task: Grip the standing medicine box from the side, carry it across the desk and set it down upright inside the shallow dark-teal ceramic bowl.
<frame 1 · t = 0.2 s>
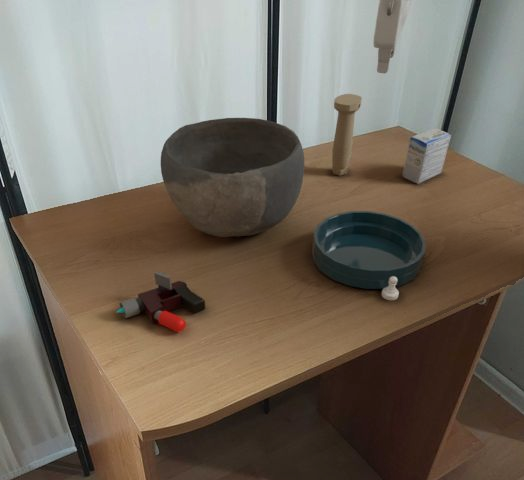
hand: (385, 64, 95), 23 cm above the table, tool pointing down, fingers open, 8 cm apart
teal bowl: (365, 258, 91), on the table
bowl: (234, 222, 99), on the table
chess pawn: (389, 296, 84), on the table
toy gun: (163, 318, 79), on the table
medicine box: (421, 176, 114), on the table
handle: (339, 173, 114), on the table
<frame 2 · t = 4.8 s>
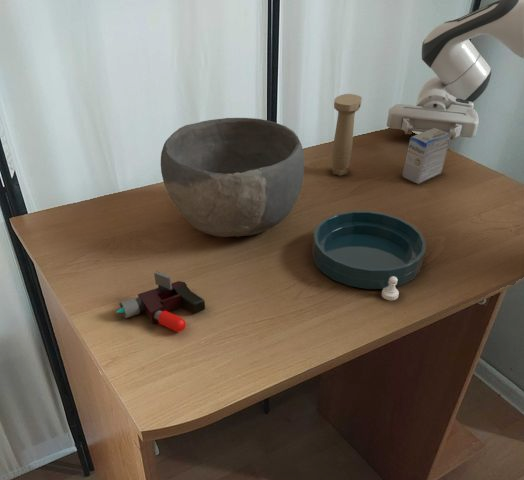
hand: (430, 133, 119), 5 cm above the table, tool horizontal, fingers open, 8 cm apart
nothing on the table moved.
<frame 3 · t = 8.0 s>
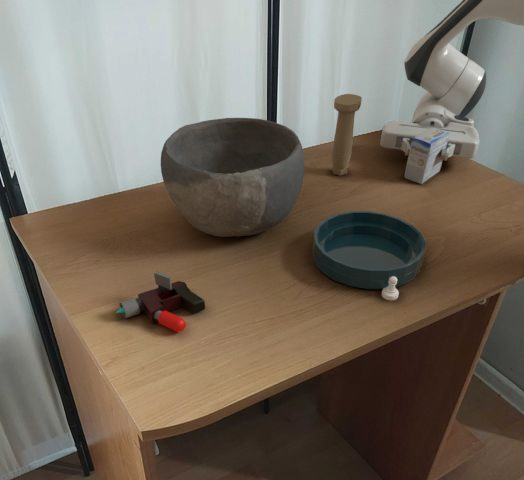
hand: (426, 154, 110), 5 cm above the table, tool horizontal, fingers closed on medicine box, 6 cm apart
medicine box: (421, 176, 114), on the table, touching gripper
everything else where it was.
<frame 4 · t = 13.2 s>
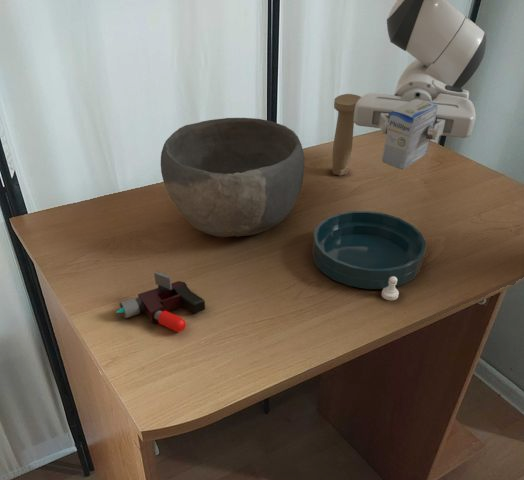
hand: (409, 132, 88), 17 cm above the table, tool horizontal, fingers closed on medicine box, 6 cm apart
medicine box: (404, 160, 92), point 12 cm above the table, touching gripper
everything else where it was.
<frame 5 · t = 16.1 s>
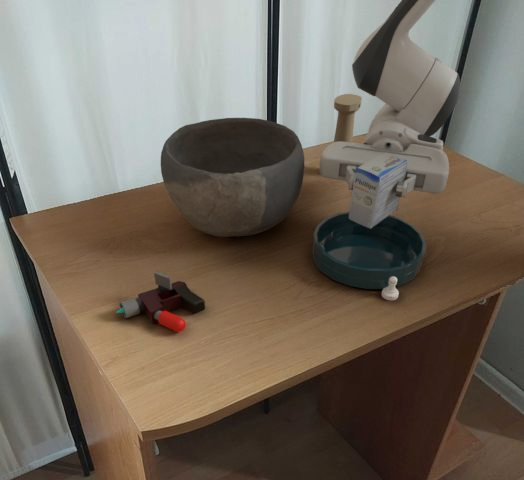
hand: (377, 189, 81), 13 cm above the table, tool horizontal, fingers closed on medicine box, 6 cm apart
medicine box: (372, 216, 86), point 8 cm above the table, touching gripper
everything else where it was.
when the fingers open (6 cm above the table, at t = 18.7 s): medicine box stays where it is, resting on teal bowl.
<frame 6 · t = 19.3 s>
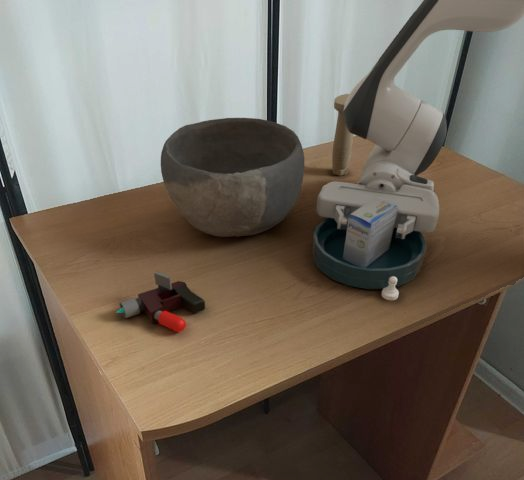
hand: (371, 230, 86), 6 cm above the table, tool horizontal, fingers open, 8 cm apart
medicine box: (365, 256, 91), resting on teal bowl
everything else where it was.
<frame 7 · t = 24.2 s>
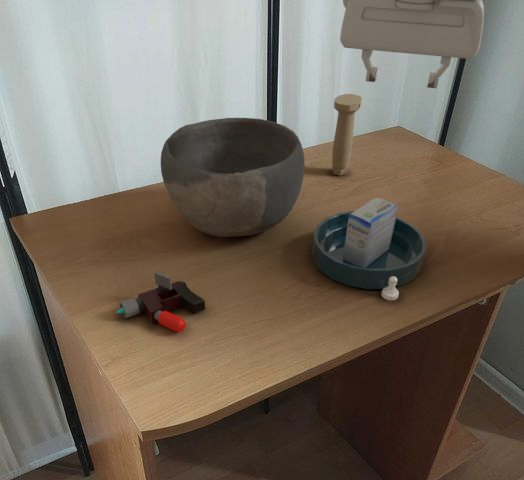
hand: (401, 83, 83), 24 cm above the table, tool pointing down, fingers open, 8 cm apart
nothing on the table moved.
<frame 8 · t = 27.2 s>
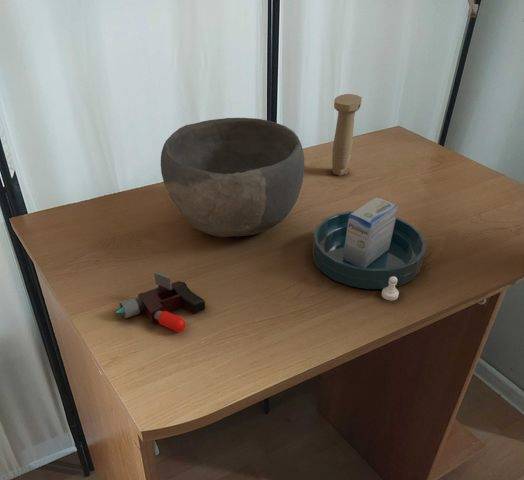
hand: (499, 19, 94), 29 cm above the table, tool pointing down, fingers open, 8 cm apart
nothing on the table moved.
at the end: medicine box inside the target area in the teal bowl (0.3 cm from its centre), point 0.3 cm above the teal bowl's base; medicine box tilted 0° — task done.
